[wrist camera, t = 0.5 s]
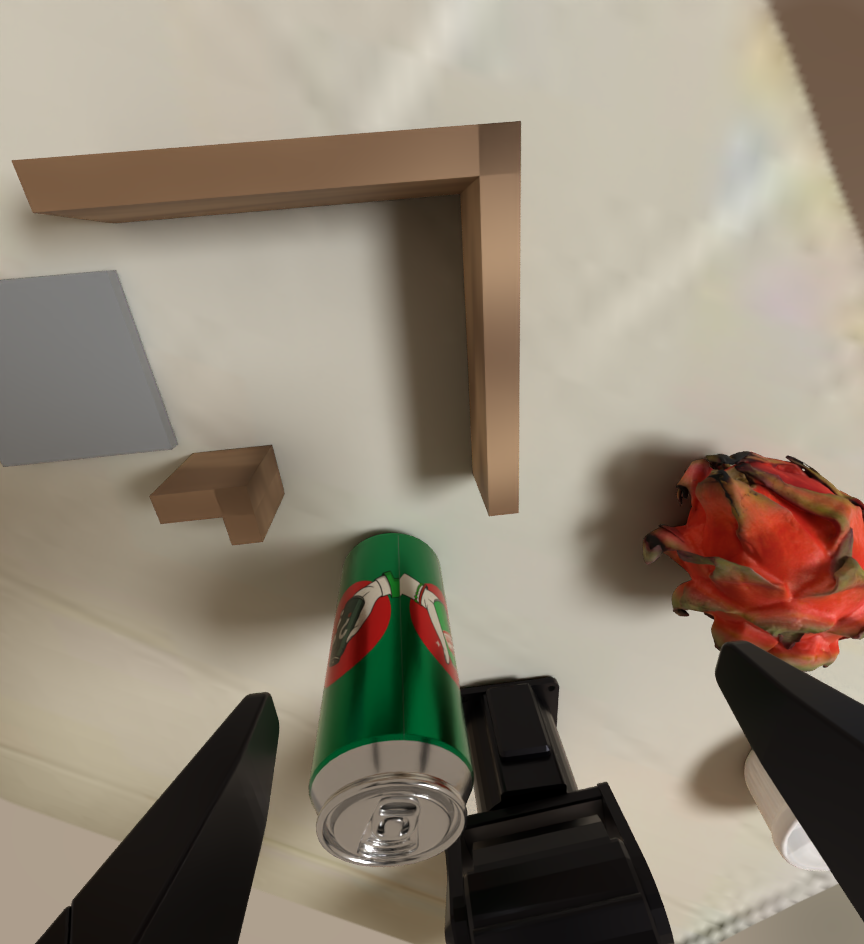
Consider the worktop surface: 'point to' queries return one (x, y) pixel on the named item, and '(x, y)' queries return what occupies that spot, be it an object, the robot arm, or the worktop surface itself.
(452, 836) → the soda can
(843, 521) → the dragon fruit
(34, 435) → the slate coaster
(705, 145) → the worktop surface
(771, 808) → the ramekin
